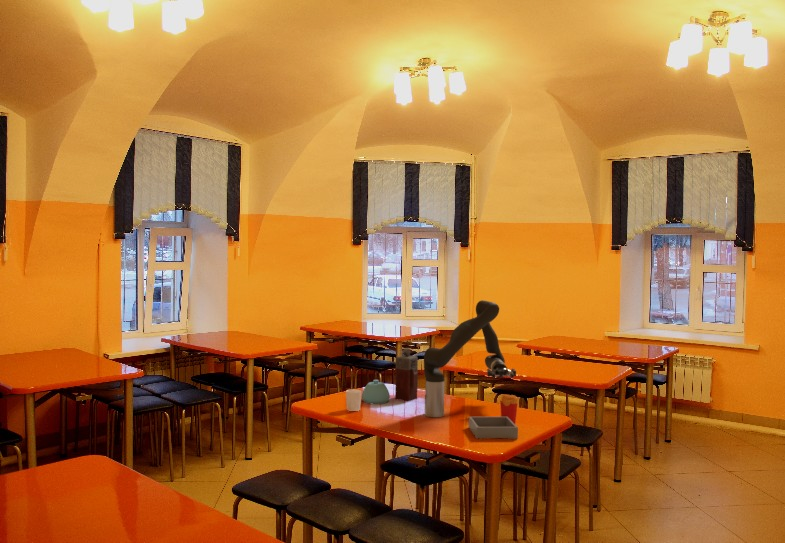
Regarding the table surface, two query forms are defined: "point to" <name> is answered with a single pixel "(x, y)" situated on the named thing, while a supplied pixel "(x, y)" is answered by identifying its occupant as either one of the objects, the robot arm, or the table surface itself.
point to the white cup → (353, 399)
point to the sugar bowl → (375, 393)
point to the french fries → (509, 407)
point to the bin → (493, 427)
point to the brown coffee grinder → (406, 376)
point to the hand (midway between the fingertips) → (503, 376)
